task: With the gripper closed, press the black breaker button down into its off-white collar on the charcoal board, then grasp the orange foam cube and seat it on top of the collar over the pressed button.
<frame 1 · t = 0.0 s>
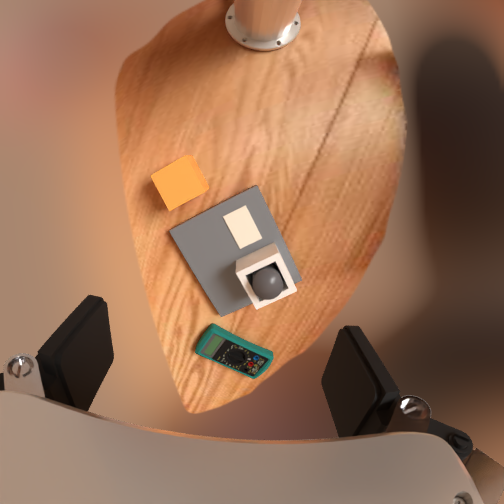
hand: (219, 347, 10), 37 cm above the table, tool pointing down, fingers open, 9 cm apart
orange foam cube: (184, 180, 44), on the table
digital multimeter: (234, 348, 56), on the table
breaker button: (266, 280, 43), point 7 cm above the table, slide at 0.0 cm
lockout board: (237, 253, 49), on the table
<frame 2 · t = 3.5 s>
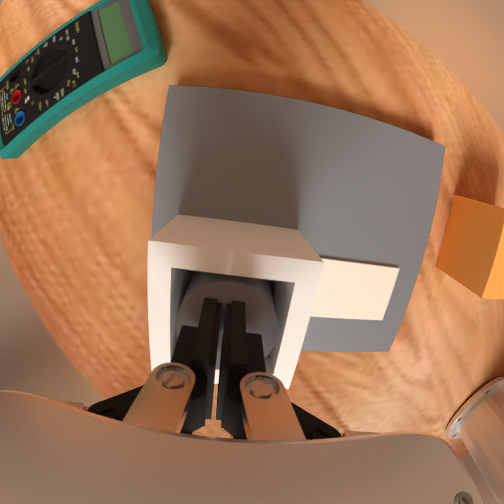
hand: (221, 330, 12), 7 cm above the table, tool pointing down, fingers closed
orange foam cube: (467, 236, 19), on the table
digital multimeter: (73, 74, 14), on the table
breaker button: (228, 309, 14), point 5 cm above the table, slide at 1.2 cm, touching gripper
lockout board: (299, 232, 18), on the table
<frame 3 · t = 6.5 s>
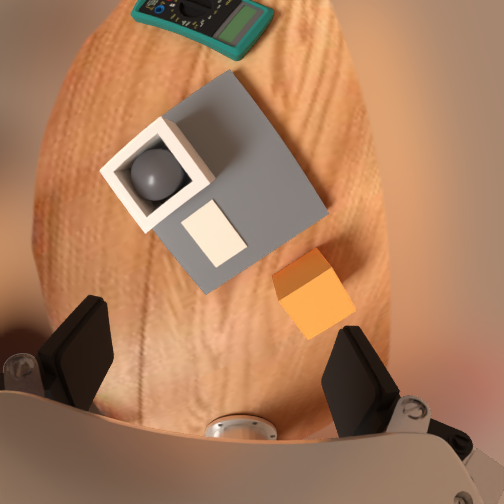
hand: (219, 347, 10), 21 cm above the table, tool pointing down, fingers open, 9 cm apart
orange foam cube: (306, 280, 33), on the table
digital multimeter: (201, 17, 23), on the table
breaker button: (160, 173, 24), point 4 cm above the table, slide at 2.4 cm
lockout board: (215, 183, 29), on the table
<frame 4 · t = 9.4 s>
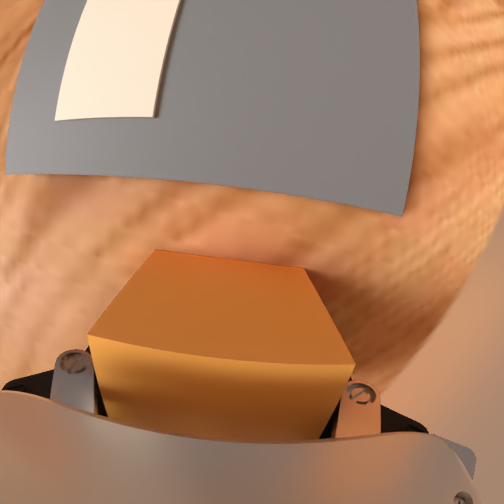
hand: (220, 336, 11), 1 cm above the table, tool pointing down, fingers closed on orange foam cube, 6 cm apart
orange foam cube: (221, 323, 12), on the table, touching gripper
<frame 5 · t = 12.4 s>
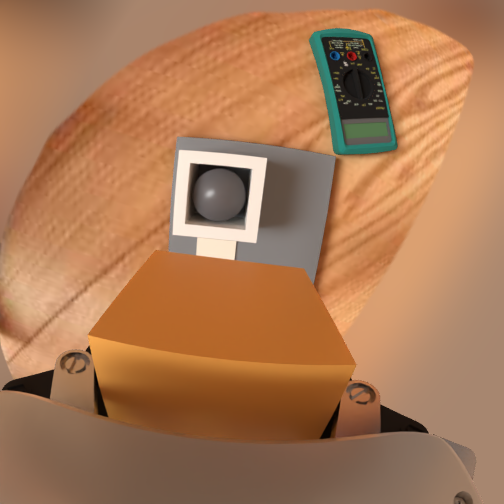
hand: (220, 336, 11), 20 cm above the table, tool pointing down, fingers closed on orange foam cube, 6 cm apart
orange foam cube: (222, 323, 12), point 19 cm above the table, touching gripper
digital multimeter: (350, 92, 27), on the table
breaker button: (220, 192, 25), point 4 cm above the table, slide at 2.4 cm
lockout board: (246, 229, 30), on the table
when the fingers open (9 cm above the table, at t = 15.3 s): orange foam cube stays where it is, resting on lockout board.
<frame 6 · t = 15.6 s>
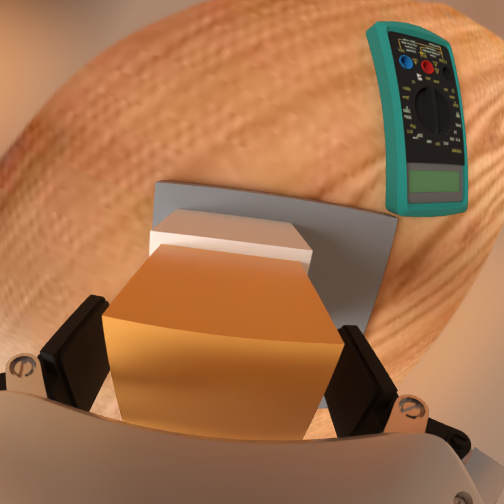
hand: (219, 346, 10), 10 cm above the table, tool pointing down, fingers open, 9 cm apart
orange foam cube: (222, 313, 13), point 7 cm above the table, touching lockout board
digital multimeter: (414, 119, 17), on the table
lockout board: (262, 315, 21), on the table
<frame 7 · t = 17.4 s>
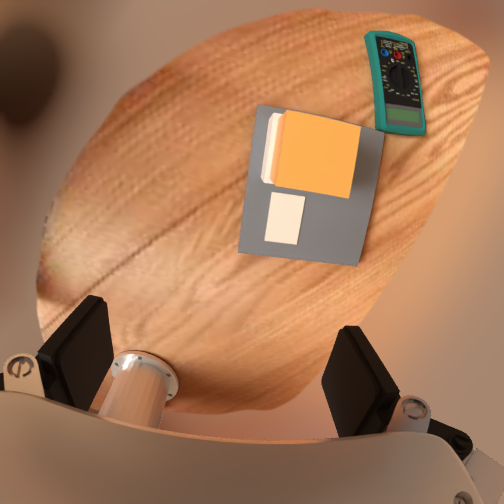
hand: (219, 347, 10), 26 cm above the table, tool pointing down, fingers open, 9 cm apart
orange foam cube: (304, 153, 26), point 7 cm above the table, touching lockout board
digital multimeter: (391, 84, 30), on the table
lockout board: (311, 188, 34), on the table
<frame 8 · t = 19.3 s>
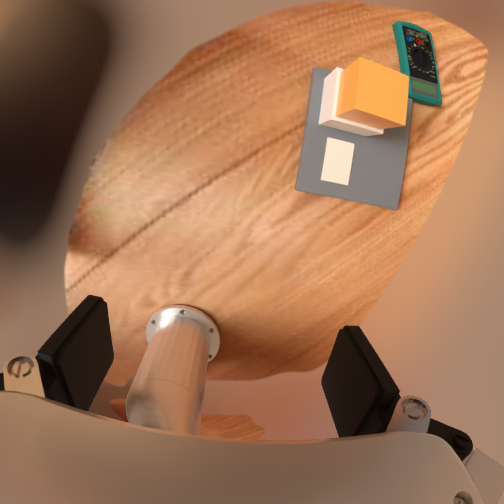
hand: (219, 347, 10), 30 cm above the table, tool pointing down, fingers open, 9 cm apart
orange foam cube: (361, 100, 28), point 7 cm above the table, touching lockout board
digital multimeter: (413, 64, 33), on the table
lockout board: (357, 139, 37), on the table
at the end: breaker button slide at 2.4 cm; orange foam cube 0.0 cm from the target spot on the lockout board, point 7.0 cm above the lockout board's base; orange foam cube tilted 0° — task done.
